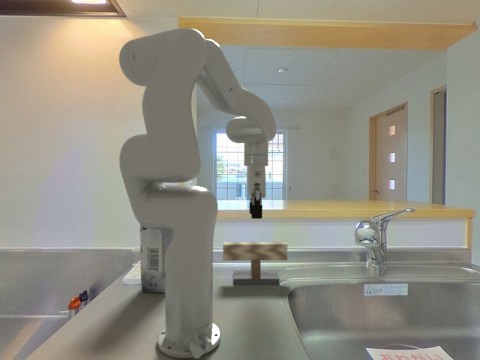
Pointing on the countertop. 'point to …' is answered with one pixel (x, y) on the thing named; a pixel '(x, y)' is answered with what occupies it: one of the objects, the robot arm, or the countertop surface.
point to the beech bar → (254, 251)
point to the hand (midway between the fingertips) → (255, 216)
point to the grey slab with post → (255, 275)
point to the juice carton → (153, 258)
